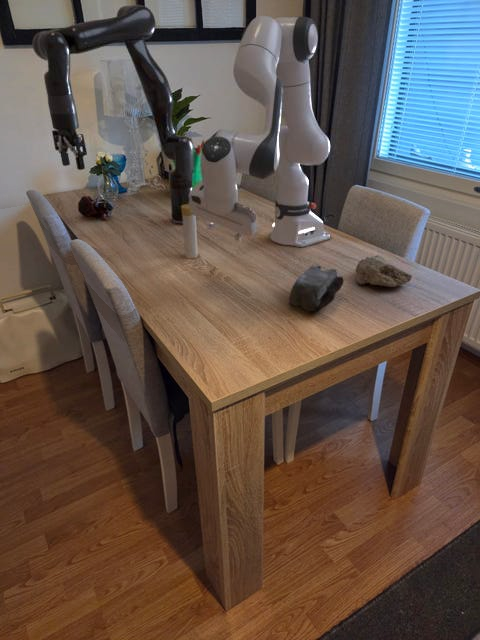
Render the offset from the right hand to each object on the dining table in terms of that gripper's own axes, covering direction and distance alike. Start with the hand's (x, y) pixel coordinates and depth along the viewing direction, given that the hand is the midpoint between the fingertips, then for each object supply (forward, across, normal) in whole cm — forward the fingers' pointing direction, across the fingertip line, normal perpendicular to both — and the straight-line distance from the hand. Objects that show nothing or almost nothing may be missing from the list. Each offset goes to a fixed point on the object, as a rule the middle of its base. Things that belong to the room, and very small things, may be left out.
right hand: (224, 233), depth 129 cm
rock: (+10, -31, +3) cm, 33 cm away
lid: (+7, +20, -10) cm, 24 cm away
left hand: (-4, +55, +1) cm, 55 cm away
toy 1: (+38, +73, -12) cm, 83 cm away
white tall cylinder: (+22, +17, -3) cm, 28 cm away
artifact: (+17, -44, -18) cm, 50 cm away
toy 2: (+55, +56, -56) cm, 97 cm away
